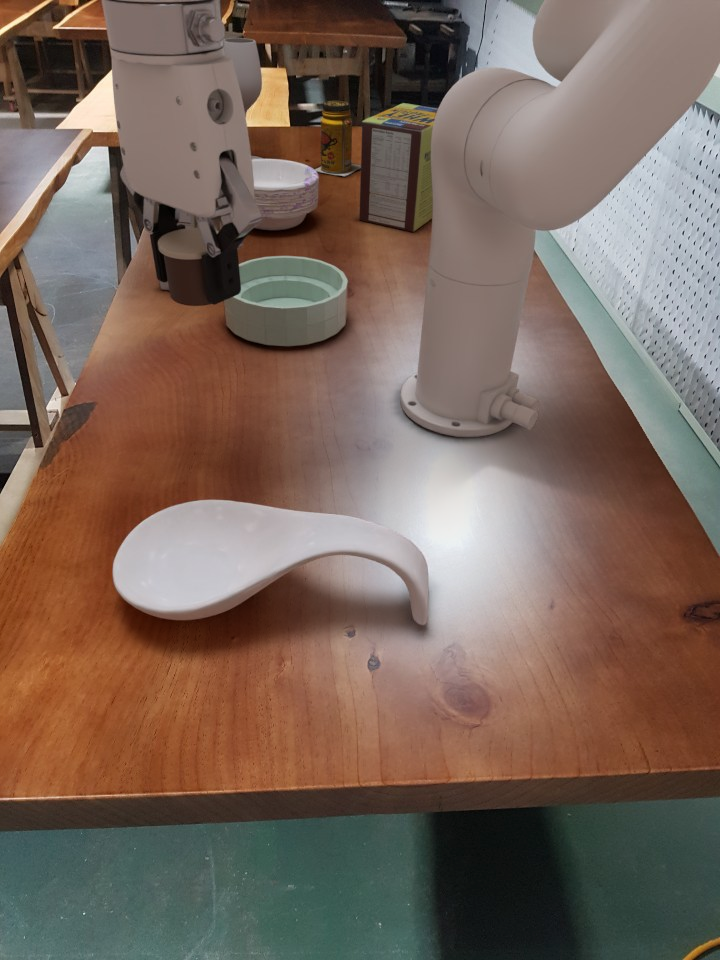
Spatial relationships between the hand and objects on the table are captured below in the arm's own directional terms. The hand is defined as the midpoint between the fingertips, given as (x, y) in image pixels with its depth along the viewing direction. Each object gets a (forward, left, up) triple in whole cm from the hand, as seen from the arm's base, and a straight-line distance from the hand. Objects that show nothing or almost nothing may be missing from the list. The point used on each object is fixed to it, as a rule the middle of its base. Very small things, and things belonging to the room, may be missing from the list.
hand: (198, 285), depth 59 cm
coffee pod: (0, 0, -1) cm, 1 cm away
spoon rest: (-17, +9, -17) cm, 26 cm away
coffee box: (+32, -24, -17) cm, 43 cm away
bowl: (+14, -24, -17) cm, 32 cm away
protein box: (+28, -67, -17) cm, 74 cm away
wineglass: (+69, -68, -17) cm, 98 cm away
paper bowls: (+41, -48, -17) cm, 65 cm away
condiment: (+53, -78, -17) cm, 95 cm away
